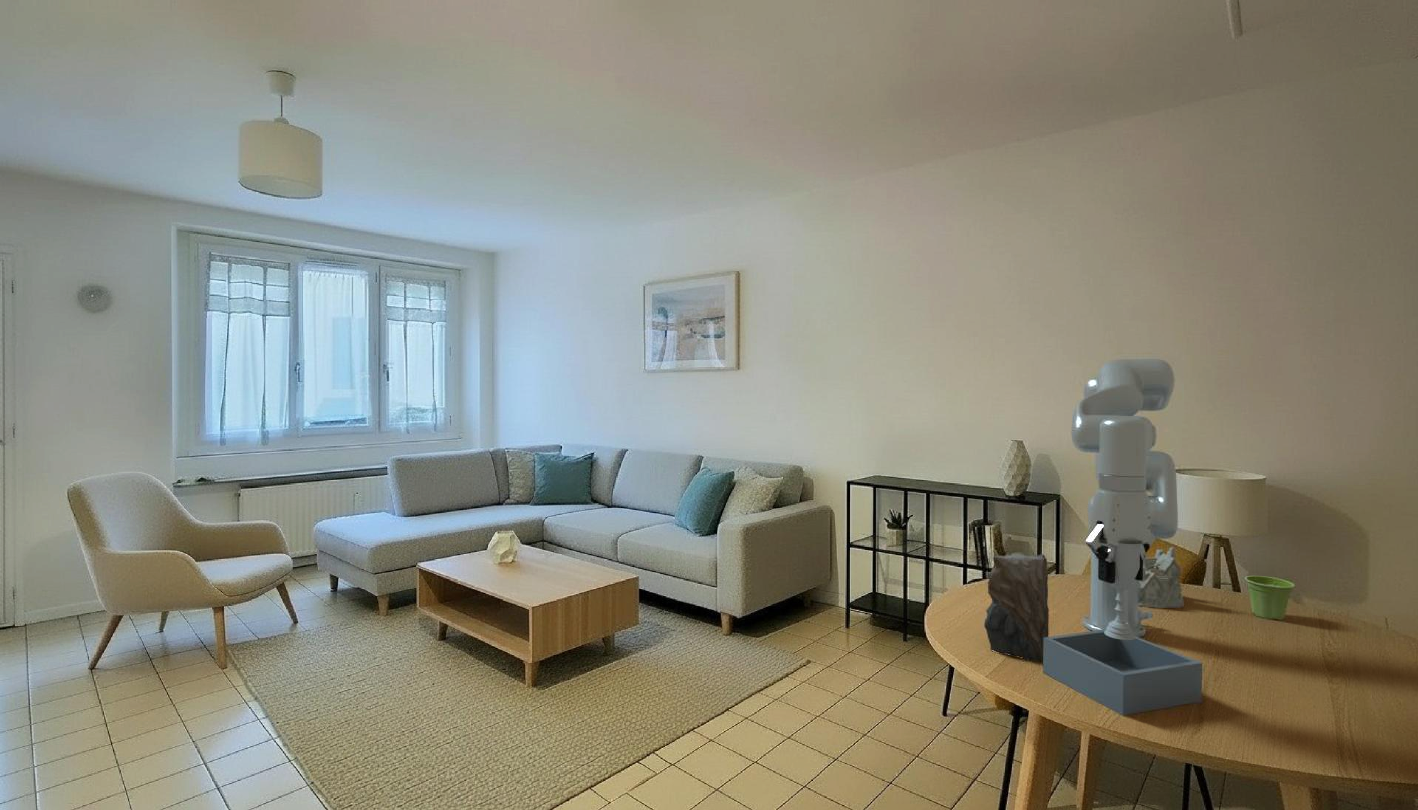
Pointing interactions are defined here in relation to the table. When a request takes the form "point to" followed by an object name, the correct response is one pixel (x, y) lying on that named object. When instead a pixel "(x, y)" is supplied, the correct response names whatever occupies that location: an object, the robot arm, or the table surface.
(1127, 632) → the chalice
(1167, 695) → the bin
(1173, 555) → the ceramic cottage
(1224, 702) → the table surface
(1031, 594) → the grey faceted rock
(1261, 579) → the plant pot
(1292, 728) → the table surface
